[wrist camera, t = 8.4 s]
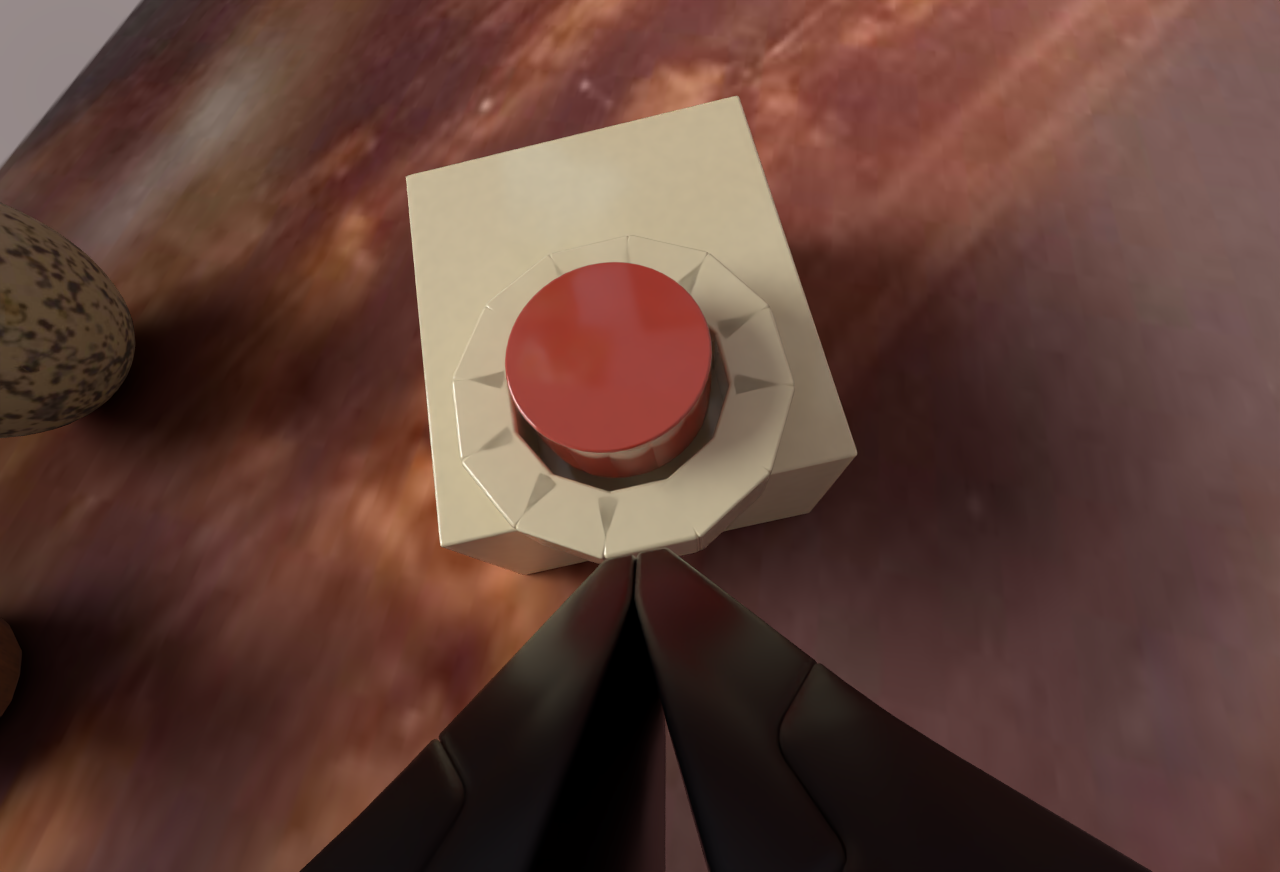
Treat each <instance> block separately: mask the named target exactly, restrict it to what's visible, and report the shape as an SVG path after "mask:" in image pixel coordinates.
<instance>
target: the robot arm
mask: <svg viewBox="0 0 1280 872" xmlns="http://www.w3.org/2000/svg"><path fill="white" fill-rule="evenodd" d="M664 715H665V716H664ZM665 719H666V722H667V726H668V729H669V733H670V737H671V740H672V744H673V748H674V751H675V755H676V758H677V762H678V765H679V769H680V773H681V776H682V780H683V783H684V787H685V790H686V794H687V798H688V801H689V805H690V808H691V812H692V815H693V819H694V823H695V826H696V830H697V833H698V837H699V841H700V844H701V848H702V851H703V855H704V858H705V862H706V866H707V869H708V872H1152V871H1151V870H1149V869H1147V868H1145V867H1144V866H1142V865H1140V864H1139V863H1137V862H1135V861H1134V860H1132V859H1130V858H1129V857H1127V856H1125V855H1124V854H1122V853H1120V852H1119V851H1117V850H1115V849H1114V848H1112V847H1110V846H1108V845H1107V844H1105V843H1103V842H1102V841H1100V840H1098V839H1097V838H1095V837H1093V836H1092V835H1090V834H1088V833H1087V832H1085V831H1083V830H1082V829H1080V828H1078V827H1076V826H1075V825H1073V824H1071V823H1070V822H1068V821H1066V820H1065V819H1063V818H1061V817H1060V816H1058V815H1056V814H1055V813H1053V812H1051V811H1050V810H1048V809H1046V808H1044V807H1043V806H1041V805H1039V804H1038V803H1036V802H1034V801H1033V800H1031V799H1029V798H1028V797H1026V796H1024V795H1023V794H1021V793H1019V792H1018V791H1016V790H1014V789H1013V788H1011V787H1009V786H1007V785H1006V784H1004V783H1002V782H1001V781H999V780H997V779H996V778H994V777H992V776H991V775H989V774H987V773H986V772H984V771H982V770H981V769H979V768H977V767H975V766H974V765H972V764H970V763H969V762H967V761H965V760H964V759H962V758H960V757H959V756H957V755H955V754H954V753H952V752H950V751H949V750H947V749H946V748H944V747H942V746H941V745H939V744H938V743H936V742H934V741H933V740H931V739H930V738H928V737H926V736H925V735H923V734H922V733H920V732H918V731H917V730H915V729H914V728H912V727H910V726H909V725H907V724H906V723H904V722H902V721H901V720H899V719H898V718H896V717H894V716H893V715H891V714H890V713H888V712H887V711H886V710H884V709H883V708H881V707H880V706H879V705H877V704H876V703H874V702H873V701H871V700H870V699H869V698H867V697H866V696H864V695H863V694H862V693H860V692H859V691H857V690H856V689H855V688H853V687H852V686H850V685H849V684H847V683H846V682H845V681H843V680H842V679H841V678H839V677H838V676H837V675H835V674H834V673H833V672H832V671H830V670H829V669H828V668H826V667H825V666H824V665H822V664H820V663H818V664H817V662H816V661H815V660H814V659H813V658H811V657H810V656H809V655H807V654H806V653H805V652H803V651H802V650H801V649H799V648H798V647H797V646H796V645H794V644H793V643H792V642H790V641H789V640H788V639H786V638H785V637H784V636H782V635H781V634H780V633H778V632H777V631H776V630H775V629H773V628H772V627H771V626H769V625H768V624H767V623H765V622H764V621H763V620H761V619H760V618H759V617H758V616H756V615H755V614H754V613H752V612H751V611H750V610H748V609H747V608H746V607H744V606H743V605H742V604H741V603H739V602H738V601H737V600H735V599H734V598H733V597H731V596H730V595H729V594H727V593H726V592H725V591H723V590H722V589H721V588H720V587H718V586H717V585H716V584H714V583H713V582H712V581H710V580H709V579H708V578H706V577H705V576H704V575H703V574H701V573H700V572H699V571H697V570H696V569H695V568H693V567H692V566H691V565H689V564H688V563H687V562H685V561H684V560H683V559H682V558H680V557H679V556H678V555H676V554H675V553H674V552H672V551H671V550H670V549H668V548H660V549H655V550H651V551H646V552H641V553H639V554H638V555H637V558H636V557H635V556H633V555H626V556H622V557H617V558H612V559H607V560H605V561H603V562H602V563H601V564H600V565H599V566H598V567H597V568H596V570H595V571H594V572H593V573H592V574H591V575H590V576H589V577H588V578H587V579H586V580H585V581H584V582H583V583H582V584H581V585H580V586H579V588H578V589H577V590H576V591H575V592H574V593H573V594H572V595H571V596H570V597H569V598H568V599H567V600H566V601H565V602H564V603H563V604H562V605H561V607H560V608H559V609H558V610H557V611H556V612H555V613H554V614H553V615H552V616H551V617H550V618H549V619H548V620H547V621H546V622H545V623H544V624H543V626H542V627H541V628H540V629H539V630H538V631H537V632H536V633H535V634H534V635H533V636H532V637H531V638H530V639H529V640H528V641H527V642H526V643H525V645H524V646H523V647H522V648H521V649H520V650H519V651H518V652H517V653H516V654H515V655H514V656H513V657H512V658H511V659H510V660H509V661H508V662H507V664H506V665H505V666H504V667H503V668H502V669H501V670H500V671H499V672H498V673H497V674H496V675H495V676H494V677H493V678H492V679H491V680H490V681H489V683H488V684H487V685H486V686H485V687H484V688H483V689H482V690H481V691H480V692H479V693H478V694H477V695H476V696H475V697H474V698H473V699H472V700H471V702H470V703H469V704H468V705H467V706H466V707H465V708H464V709H463V710H462V711H461V712H460V713H459V714H458V715H457V716H456V717H455V718H454V719H453V721H452V722H451V723H450V724H449V725H448V726H447V727H446V728H445V729H444V730H443V731H442V732H441V733H440V735H439V740H438V739H434V740H432V741H431V742H430V743H429V744H428V745H427V746H426V747H425V748H424V749H423V750H422V751H421V752H420V753H419V754H418V756H417V757H416V758H415V759H414V760H413V761H412V762H411V763H410V764H409V765H408V766H407V767H406V768H405V769H404V770H403V771H402V772H401V773H400V774H399V775H398V776H397V777H396V778H395V779H394V780H393V781H392V782H391V783H390V784H389V785H388V786H387V787H386V788H385V789H384V790H383V791H382V792H381V793H380V794H379V795H378V796H377V797H376V798H375V799H374V800H373V801H372V802H371V804H370V805H369V806H368V807H367V808H366V809H365V810H364V811H363V812H362V813H361V814H360V815H359V816H358V817H357V818H356V819H355V820H353V821H352V822H351V823H350V824H349V825H348V826H347V827H346V828H345V829H344V830H343V831H342V832H341V833H340V834H339V835H338V836H337V837H335V838H334V839H333V840H332V841H331V842H330V843H329V844H328V845H327V846H326V847H325V848H324V849H323V850H322V851H321V852H320V853H319V854H317V855H316V856H315V857H314V858H313V859H312V860H311V861H310V862H309V863H308V864H307V865H306V866H305V867H304V868H303V869H302V870H301V871H300V872H665V762H666V738H665Z"/></svg>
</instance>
